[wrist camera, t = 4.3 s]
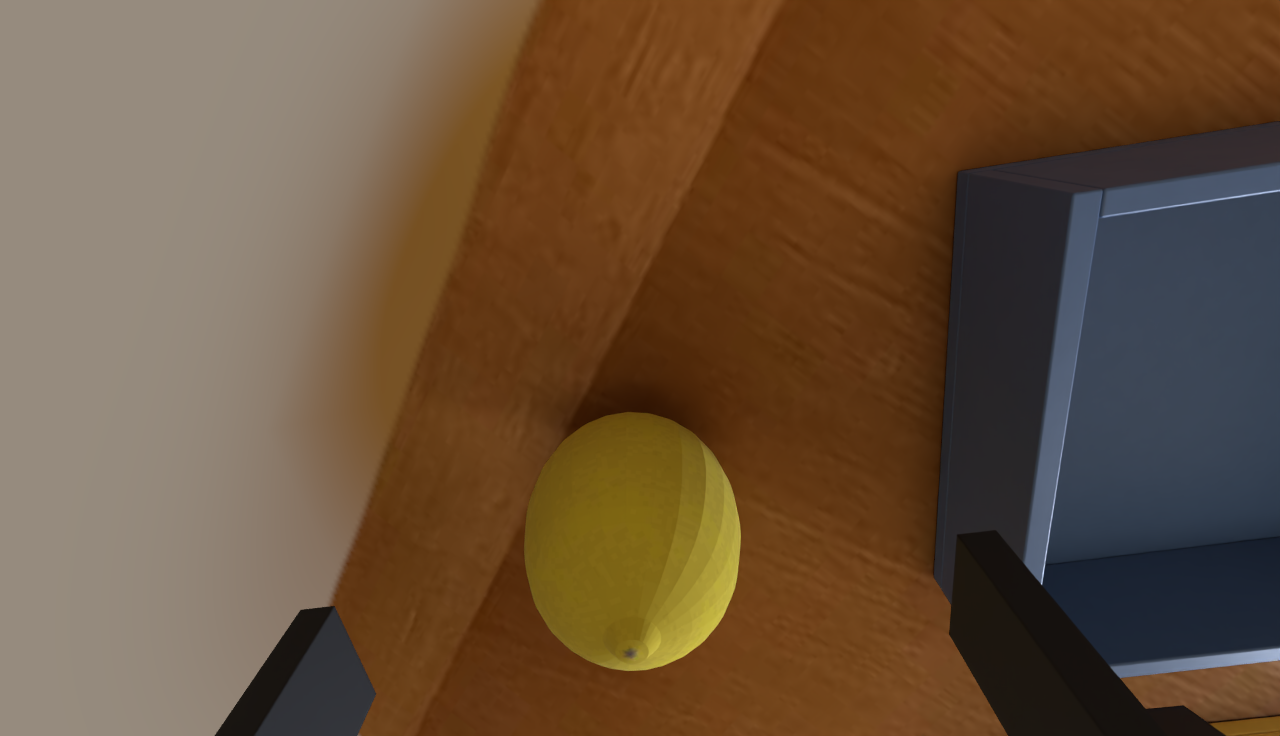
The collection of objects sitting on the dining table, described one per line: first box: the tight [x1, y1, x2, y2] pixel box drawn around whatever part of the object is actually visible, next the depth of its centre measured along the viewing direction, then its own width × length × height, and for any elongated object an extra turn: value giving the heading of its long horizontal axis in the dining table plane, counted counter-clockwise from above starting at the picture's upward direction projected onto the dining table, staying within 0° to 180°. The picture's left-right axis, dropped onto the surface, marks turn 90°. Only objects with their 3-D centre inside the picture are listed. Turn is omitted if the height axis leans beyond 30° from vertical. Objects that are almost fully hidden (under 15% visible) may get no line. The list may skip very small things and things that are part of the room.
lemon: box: [524, 412, 741, 671], centre depth 16 cm, size 6×6×8 cm
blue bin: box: [934, 121, 1280, 678], centre depth 16 cm, size 14×14×5 cm
